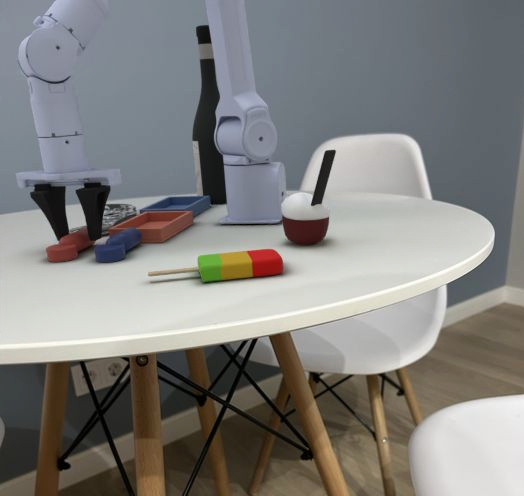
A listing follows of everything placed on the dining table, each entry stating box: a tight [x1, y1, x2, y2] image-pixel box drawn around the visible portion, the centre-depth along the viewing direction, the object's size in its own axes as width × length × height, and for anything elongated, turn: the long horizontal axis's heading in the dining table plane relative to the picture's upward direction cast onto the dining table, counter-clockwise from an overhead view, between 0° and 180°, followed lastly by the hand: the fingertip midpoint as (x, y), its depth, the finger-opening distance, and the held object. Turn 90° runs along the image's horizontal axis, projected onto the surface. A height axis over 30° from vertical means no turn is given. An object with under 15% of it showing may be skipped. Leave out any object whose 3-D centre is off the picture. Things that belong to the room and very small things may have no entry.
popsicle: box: [147, 248, 284, 283], centre depth 65 cm, size 6×15×2 cm, turn 100°
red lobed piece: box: [45, 228, 96, 263], centre depth 79 cm, size 10×4×3 cm, turn 167°
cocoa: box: [281, 149, 337, 246], centre depth 75 cm, size 10×6×12 cm, turn 9°
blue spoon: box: [93, 227, 142, 263], centre depth 78 cm, size 10×4×3 cm, turn 167°
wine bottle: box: [191, 24, 227, 205], centre depth 107 cm, size 8×8×30 cm
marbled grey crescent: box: [69, 203, 138, 236], centre depth 100 cm, size 28×2×10 cm
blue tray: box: [138, 195, 212, 218], centre depth 103 cm, size 8×13×2 cm, turn 167°
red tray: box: [108, 211, 194, 244], centre depth 89 cm, size 8×13×2 cm, turn 167°
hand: (79, 239), depth 81 cm, fingers open, 4 cm apart
